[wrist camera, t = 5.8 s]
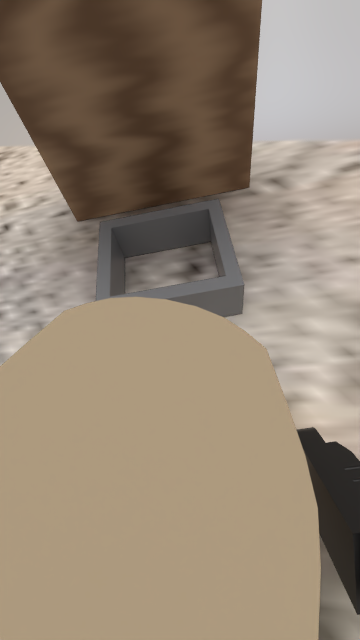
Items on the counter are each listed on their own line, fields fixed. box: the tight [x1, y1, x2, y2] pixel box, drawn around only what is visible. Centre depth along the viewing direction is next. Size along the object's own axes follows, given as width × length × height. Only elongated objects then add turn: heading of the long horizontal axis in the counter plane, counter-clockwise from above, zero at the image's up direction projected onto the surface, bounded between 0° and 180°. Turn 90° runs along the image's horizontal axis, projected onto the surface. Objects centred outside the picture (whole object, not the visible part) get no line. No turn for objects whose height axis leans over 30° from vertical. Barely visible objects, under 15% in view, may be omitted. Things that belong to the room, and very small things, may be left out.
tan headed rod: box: [0, 297, 321, 640], centre depth 9 cm, size 5×6×15 cm
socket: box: [96, 199, 244, 317], centre depth 23 cm, size 10×9×4 cm
